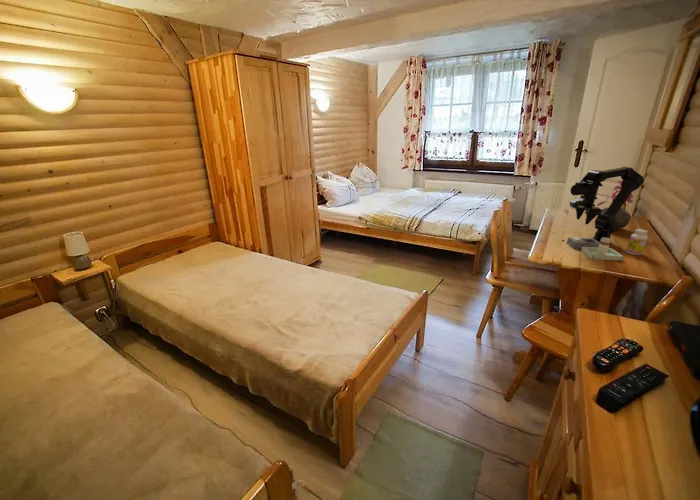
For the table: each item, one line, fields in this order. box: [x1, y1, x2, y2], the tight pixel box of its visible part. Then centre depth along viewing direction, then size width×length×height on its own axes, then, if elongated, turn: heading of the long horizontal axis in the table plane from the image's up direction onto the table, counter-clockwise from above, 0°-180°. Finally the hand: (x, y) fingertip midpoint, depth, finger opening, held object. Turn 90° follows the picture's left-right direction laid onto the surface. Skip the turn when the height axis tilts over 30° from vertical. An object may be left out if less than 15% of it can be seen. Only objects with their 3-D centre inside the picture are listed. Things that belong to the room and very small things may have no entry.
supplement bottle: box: [625, 228, 649, 256], centre depth 167 cm, size 7×7×13 cm
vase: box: [596, 180, 634, 230], centre depth 200 cm, size 17×18×30 cm
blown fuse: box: [596, 237, 612, 255], centre depth 164 cm, size 4×4×9 cm
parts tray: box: [580, 247, 625, 262], centre depth 166 cm, size 14×11×2 cm
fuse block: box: [566, 237, 600, 250], centre depth 178 cm, size 13×8×4 cm, turn 82°
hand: (582, 221), depth 179 cm, fingers open, 9 cm apart
